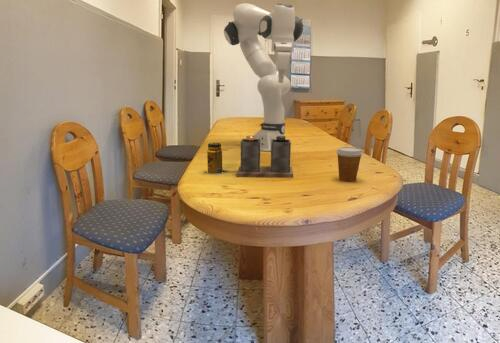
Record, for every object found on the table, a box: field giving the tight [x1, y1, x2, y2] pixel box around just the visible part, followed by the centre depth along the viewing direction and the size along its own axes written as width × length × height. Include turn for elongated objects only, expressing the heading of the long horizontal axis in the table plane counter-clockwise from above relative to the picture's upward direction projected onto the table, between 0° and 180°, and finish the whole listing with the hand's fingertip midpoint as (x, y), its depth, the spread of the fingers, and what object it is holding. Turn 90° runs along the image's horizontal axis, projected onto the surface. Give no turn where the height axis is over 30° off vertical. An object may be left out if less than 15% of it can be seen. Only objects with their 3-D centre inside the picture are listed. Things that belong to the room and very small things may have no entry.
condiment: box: [206, 142, 229, 176], centre depth 153 cm, size 7×8×12 cm
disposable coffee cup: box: [336, 146, 363, 183], centre depth 142 cm, size 10×10×12 cm
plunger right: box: [276, 135, 286, 142], centre depth 149 cm, size 5×5×12 cm
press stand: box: [236, 138, 294, 179], centre depth 150 cm, size 22×12×14 cm, turn 87°
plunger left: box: [245, 135, 255, 142], centre depth 150 cm, size 5×5×12 cm
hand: (280, 82), depth 153 cm, fingers closed
